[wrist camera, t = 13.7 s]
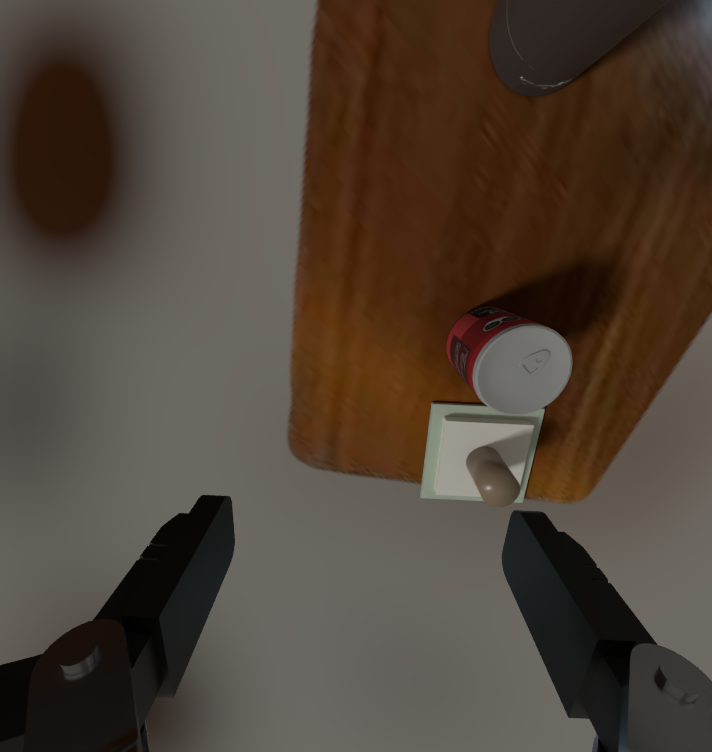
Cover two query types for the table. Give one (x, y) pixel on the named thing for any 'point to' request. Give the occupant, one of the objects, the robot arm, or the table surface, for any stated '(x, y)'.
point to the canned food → (509, 360)
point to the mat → (470, 412)
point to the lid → (482, 458)
